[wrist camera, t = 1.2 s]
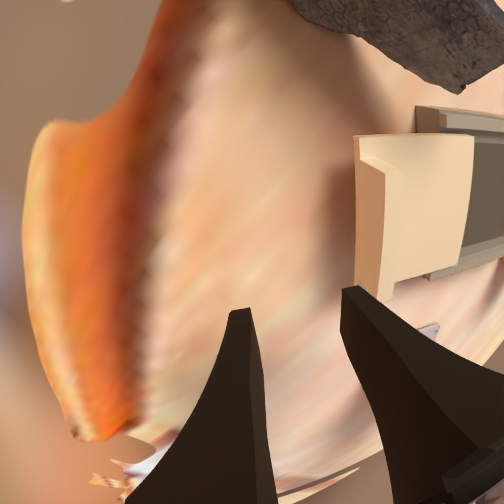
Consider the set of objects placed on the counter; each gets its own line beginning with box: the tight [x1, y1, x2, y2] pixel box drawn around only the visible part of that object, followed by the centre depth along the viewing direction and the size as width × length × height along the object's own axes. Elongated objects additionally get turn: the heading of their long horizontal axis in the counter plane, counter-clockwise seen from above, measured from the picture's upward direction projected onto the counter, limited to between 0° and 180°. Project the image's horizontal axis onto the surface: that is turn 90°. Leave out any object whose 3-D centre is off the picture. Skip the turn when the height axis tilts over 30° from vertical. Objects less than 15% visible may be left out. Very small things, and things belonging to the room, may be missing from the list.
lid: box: [353, 133, 474, 302], centre depth 14 cm, size 9×8×3 cm
